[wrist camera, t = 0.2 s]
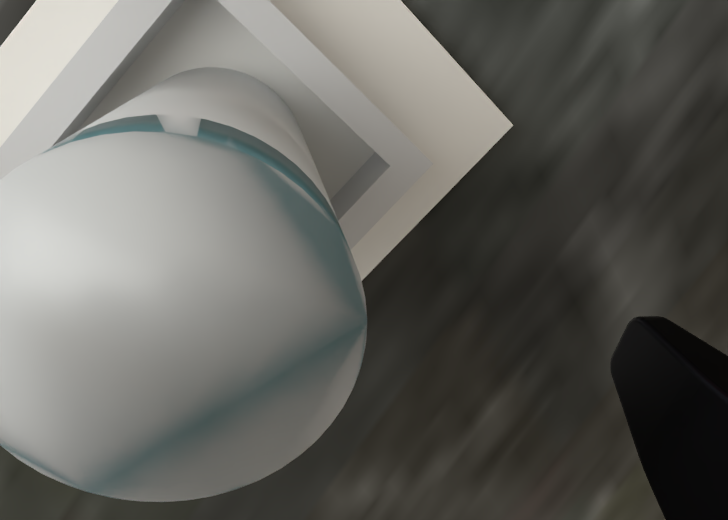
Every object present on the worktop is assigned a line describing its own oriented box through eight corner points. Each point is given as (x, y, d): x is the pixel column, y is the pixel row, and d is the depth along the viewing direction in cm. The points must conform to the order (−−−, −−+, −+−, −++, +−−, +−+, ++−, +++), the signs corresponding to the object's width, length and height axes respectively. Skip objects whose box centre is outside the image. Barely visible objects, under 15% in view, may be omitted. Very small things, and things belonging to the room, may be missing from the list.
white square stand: (228, 404, 26) (224, 459, 22) (-100, 188, 20) (-166, 218, 17) (503, 121, 23) (543, 136, 20) (207, -205, 18) (196, -255, 15)
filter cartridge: (229, 272, 22) (197, 557, 10) (87, 164, 20) (-158, 366, 8) (340, 152, 21) (445, 313, 9) (204, 26, 19) (117, 27, 7)
